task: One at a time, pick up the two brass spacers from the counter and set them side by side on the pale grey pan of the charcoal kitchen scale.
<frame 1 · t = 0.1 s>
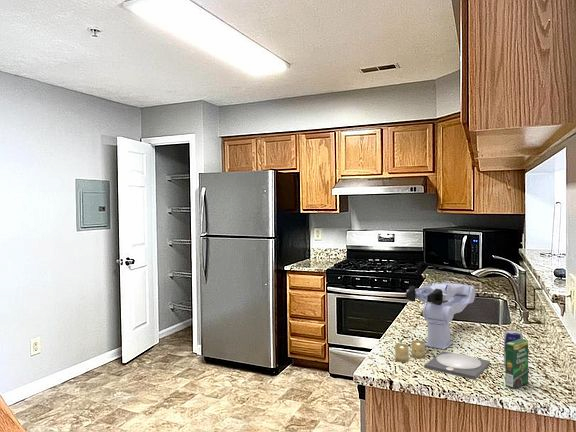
hand: (417, 297, 155), 22 cm above the worktop, tool horizontal, fingers open, 7 cm apart
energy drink: (513, 368, 146), on the worktop
kitchen scale: (457, 365, 149), on the worktop
spacer 2: (418, 356, 158), on the worktop
spacer 1: (401, 359, 155), on the worktop
green carton: (516, 385, 133), on the worktop
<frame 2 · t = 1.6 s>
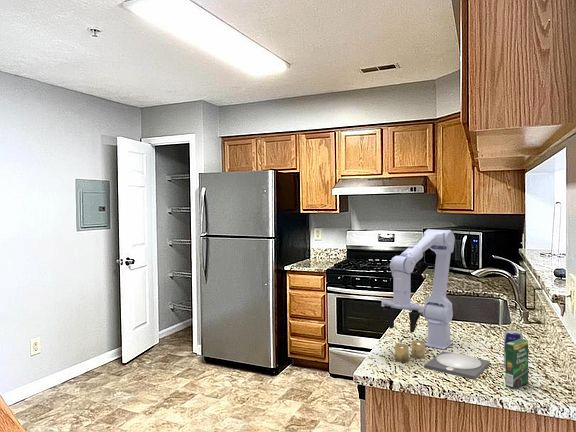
hand: (401, 329, 154), 10 cm above the worktop, tool pointing down, fingers open, 7 cm apart
nothing on the worktop moved.
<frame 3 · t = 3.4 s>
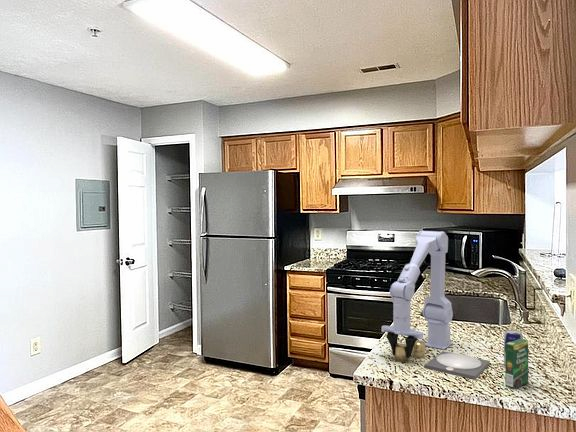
hand: (401, 355, 155), 1 cm above the worktop, tool pointing down, fingers closed on spacer 1, 4 cm apart
spacer 1: (401, 359, 155), on the worktop, touching gripper
everything else where it was.
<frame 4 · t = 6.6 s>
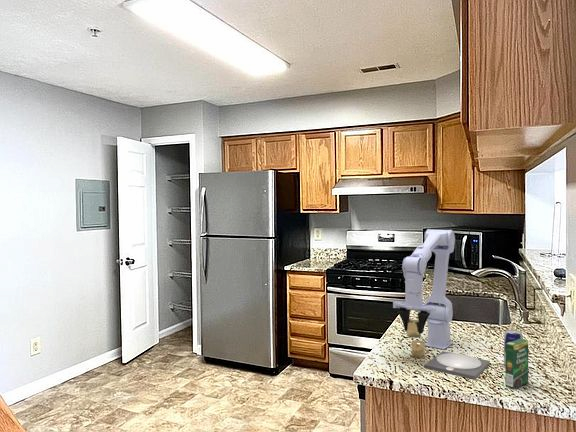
hand: (413, 331, 152), 10 cm above the worktop, tool pointing down, fingers closed on spacer 1, 4 cm apart
spacer 1: (413, 335, 153), point 9 cm above the worktop, touching gripper
everything else where it was.
when the fingers open (4 cm above the worktop, at t = 10.1 s): spacer 1 stays where it is, resting on kitchen scale.
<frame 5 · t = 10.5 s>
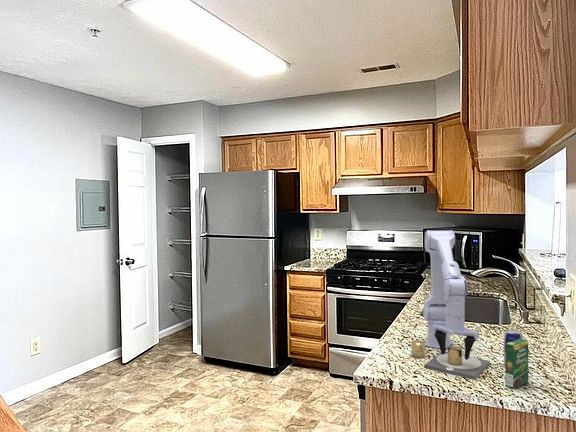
hand: (455, 356, 147), 4 cm above the worktop, tool pointing down, fingers open, 7 cm apart
spacer 1: (454, 363, 147), point 1 cm above the worktop, touching kitchen scale
everything else where it was.
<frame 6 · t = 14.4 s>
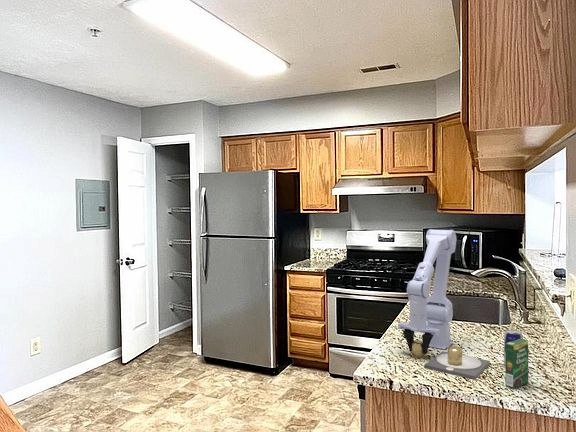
hand: (418, 352, 158), 1 cm above the worktop, tool pointing down, fingers closed on spacer 2, 4 cm apart
spacer 2: (418, 356, 158), on the worktop, touching gripper
everything else where it was.
when the fingers open (4 cm above the worktop, at t = 20.8 s): spacer 2 stays where it is, resting on kitchen scale.
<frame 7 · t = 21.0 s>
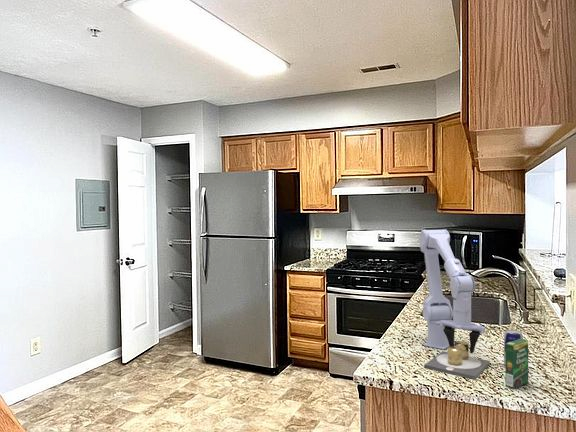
hand: (461, 350, 152), 4 cm above the worktop, tool pointing down, fingers open, 6 cm apart
spacer 2: (461, 357, 152), point 1 cm above the worktop, touching kitchen scale
everything else where it was.
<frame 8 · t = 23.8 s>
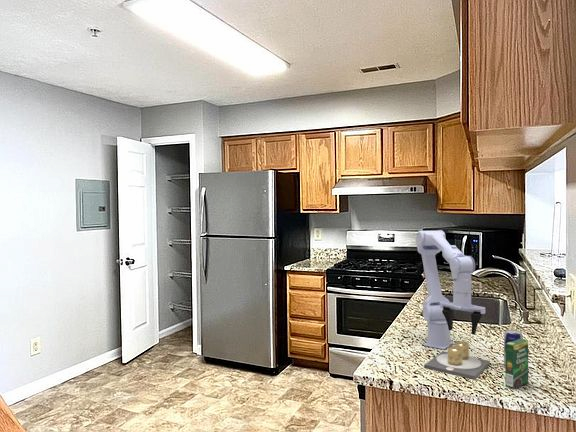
hand: (461, 331, 152), 10 cm above the worktop, tool pointing down, fingers open, 7 cm apart
nothing on the worktop moved.
at the end: spacer 1 0.5 cm from the target spot on the kitchen scale, point 1.5 cm above the kitchen scale's base; spacer 2 0.3 cm from the target spot on the kitchen scale, point 1.5 cm above the kitchen scale's base; the gripper is holding nothing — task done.
